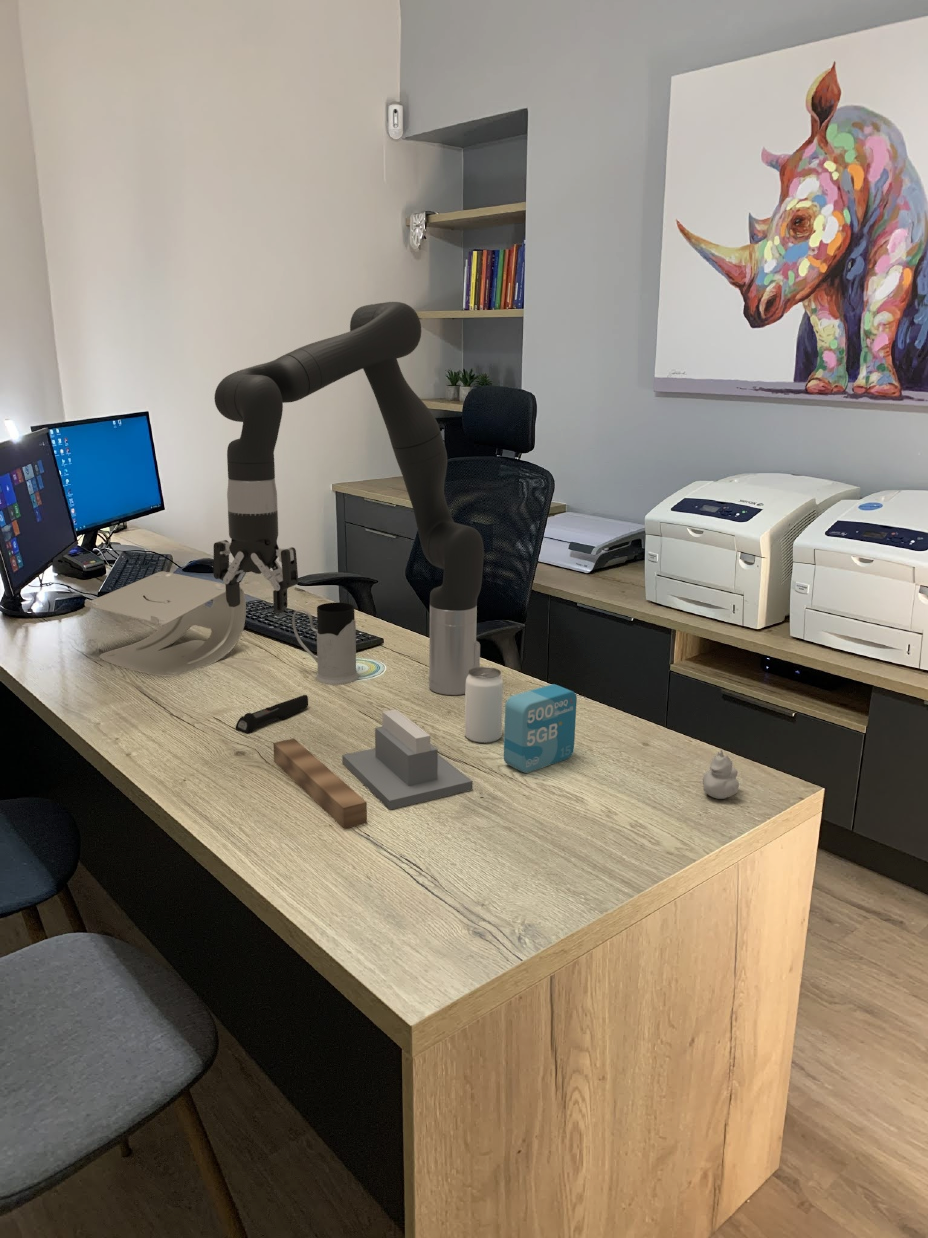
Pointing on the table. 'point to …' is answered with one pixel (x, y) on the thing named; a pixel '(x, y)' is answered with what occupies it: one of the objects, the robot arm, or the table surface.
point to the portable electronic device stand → (174, 623)
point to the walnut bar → (321, 783)
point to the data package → (539, 727)
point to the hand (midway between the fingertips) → (256, 609)
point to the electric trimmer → (271, 714)
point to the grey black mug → (334, 643)
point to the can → (483, 705)
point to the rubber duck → (721, 777)
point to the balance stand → (405, 765)
